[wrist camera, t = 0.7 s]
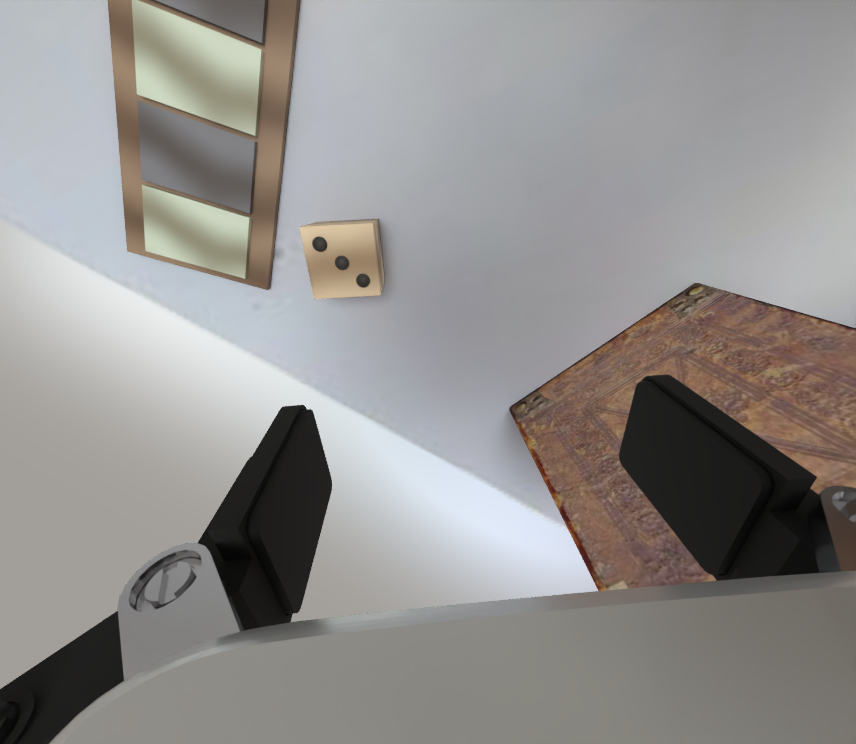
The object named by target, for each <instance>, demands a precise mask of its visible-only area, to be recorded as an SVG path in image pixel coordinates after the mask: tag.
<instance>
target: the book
mask: <svg viewBox="0 0 856 744" xmlns="http://www.w3.org/2000/svg"><path fill="white" fill-rule="evenodd" d="M664 374H667V375H670V376H672V377H674V378H675V379H677V380H678V381H680V382H681V383H682V384H684V385H685V386H687V387H688V388H690V389H691V390H693V391H694V392H695V393H697V394H698V395H700V396H701V397H703V398H704V399H706V400H707V401H708V402H710V403H711V404H713V405H714V406H716V407H717V408H719V409H720V410H721V411H723V412H724V413H726V414H727V415H729V416H730V417H731V418H733V419H734V420H736V421H737V422H739V423H740V424H742V425H743V426H744V427H746V428H747V429H749V430H750V431H752V432H753V433H755V434H756V435H757V436H759V437H760V438H762V439H763V440H765V441H766V442H768V443H769V444H770V445H772V446H773V447H775V448H776V449H778V450H779V451H781V452H782V453H783V454H785V455H786V456H788V457H789V458H791V459H792V460H794V461H795V462H796V463H798V464H799V465H801V466H802V467H804V468H805V469H807V470H808V471H809V472H811V473H812V474H814V475H815V476H817V478H816V480H815V482H814V483H813V485H812V486H811V488H810V489H812V490H813V491H815V492H816V493H817V494H820V492H821V491H822V490H823V489H825V488H826V487H830V486H849V487H854V488H856V328H852V327H849V326H845V325H842V324H838V323H835V322H831V321H828V320H824V319H821V318H817V317H814V316H810V315H807V314H803V313H800V312H796V311H793V310H789V309H786V308H783V307H779V306H776V305H772V304H769V303H765V302H762V301H758V300H755V299H751V298H748V297H744V296H741V295H737V294H734V293H730V292H727V291H723V290H720V289H716V288H713V287H710V286H706V285H703V284H699V283H695V284H693V285H692V286H690V287H689V288H687V289H686V290H684V291H683V292H681V293H680V294H678V295H677V296H675V297H674V298H672V299H671V300H669V301H668V302H666V303H665V304H663V305H662V306H660V307H659V308H657V309H656V310H654V311H653V312H651V313H650V314H648V315H647V316H645V317H644V318H642V319H641V320H639V321H638V322H636V323H635V324H633V325H632V326H630V327H629V328H627V329H626V330H624V331H623V332H621V333H620V334H618V335H617V336H615V337H614V338H612V339H611V340H609V341H608V342H606V343H605V344H603V345H602V346H600V347H599V348H597V349H596V350H594V351H593V352H591V353H590V354H588V355H587V356H585V357H584V358H582V359H581V360H579V361H578V362H576V363H575V364H573V365H572V366H570V367H569V368H567V369H566V370H564V371H563V372H561V373H560V374H558V375H557V376H555V377H554V378H553V379H551V380H550V381H548V382H547V383H545V384H544V385H542V386H541V387H539V388H538V389H536V390H535V391H533V392H532V393H530V394H529V395H527V396H526V397H524V398H523V399H521V400H520V401H518V402H517V403H515V404H514V405H512V406H511V407H510V409H509V410H510V412H511V414H512V416H513V418H514V420H515V422H516V424H517V426H518V428H519V430H520V432H521V435H522V437H523V439H524V441H525V443H526V445H527V447H528V449H529V451H530V453H531V455H532V457H533V459H534V461H535V463H536V465H537V467H538V469H539V471H540V473H541V475H542V477H543V479H544V481H545V483H546V485H547V487H548V489H549V491H550V493H551V495H552V497H553V499H554V501H555V503H556V505H557V507H558V510H559V512H560V514H561V516H562V518H563V520H564V522H565V524H566V526H567V528H568V530H569V532H570V534H571V536H572V538H573V540H574V542H575V544H576V546H577V548H578V550H579V552H580V554H581V556H582V558H583V560H584V562H585V564H586V566H587V568H588V570H589V572H590V574H591V576H592V578H593V580H594V582H595V585H596V587H597V588H598V591H607V590H618V589H629V588H640V587H651V586H663V585H675V584H686V583H698V582H709V581H717V580H716V579H715V577H714V576H713V575H711V574H708V573H707V572H705V571H704V570H703V569H702V567H701V566H700V565H699V564H698V562H697V561H696V560H695V559H694V557H693V556H692V555H691V553H690V552H689V551H688V550H687V548H686V547H685V546H684V544H683V543H682V542H681V541H680V539H679V538H678V537H677V536H676V534H675V533H674V532H673V530H672V529H671V528H670V527H669V525H668V524H667V523H666V521H665V520H664V519H663V518H662V516H661V515H660V514H659V513H658V511H657V510H656V509H655V507H654V506H653V505H652V504H651V502H650V501H649V500H648V498H647V497H646V496H645V495H644V493H643V492H642V491H641V490H640V488H639V487H638V486H637V484H636V483H635V482H634V481H633V479H632V478H631V477H630V476H629V474H628V473H627V472H626V470H625V469H624V468H623V467H622V465H621V463H620V460H619V451H620V447H621V443H622V439H623V435H624V431H625V428H626V424H627V420H628V416H629V412H630V408H631V404H632V400H633V396H634V392H635V388H636V385H637V384H638V382H641V381H642V379H643V378H644V377H646V376H653V375H664Z"/></svg>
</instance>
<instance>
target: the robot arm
mask: <svg viewBox="0 0 856 744" xmlns="http://www.w3.org/2000/svg"><path fill="white" fill-rule="evenodd" d="M619 460H620V463H621V465H622V467H623V468H624V469H625V470H626V472H627V473H628V474H629V476H630V477H631V478H632V479H633V481H634V482H635V483H636V484H637V486H638V487H639V488H640V490H641V491H642V492H643V493H644V495H645V496H646V497H647V498H648V500H649V501H650V502H651V504H652V505H653V506H654V507H655V509H656V510H657V511H658V513H659V514H660V515H661V516H662V518H663V519H664V520H665V521H666V523H667V524H668V525H669V527H670V528H671V529H672V530H673V532H674V533H675V534H676V536H677V537H678V538H679V539H680V541H681V542H682V543H683V544H684V546H685V547H686V548H687V550H688V551H689V552H690V553H691V555H692V556H693V557H694V559H695V560H696V561H697V562H698V564H699V565H700V566H701V567H702V569H703V570H704V571H705V572H707V573H708V574H711V575H713V576H714V577H715V579H716V580H717V581H709V582H698V583H686V584H675V585H663V586H651V587H640V588H629V589H618V590H607V591H596V592H586V593H574V594H563V595H552V596H542V597H531V598H520V599H509V600H499V601H488V602H478V603H468V604H457V605H447V606H437V607H426V608H417V609H406V610H396V611H385V612H375V613H366V614H358V615H349V616H341V617H332V618H324V619H315V620H306V621H297V622H290V621H291V617H292V614H293V613H298V612H299V610H300V608H301V605H302V601H303V598H304V594H305V590H306V586H307V582H308V578H309V575H310V571H311V567H312V563H313V559H314V555H315V552H316V548H317V544H318V540H319V537H320V533H321V529H322V525H323V521H324V517H325V514H326V510H327V506H328V502H329V498H330V494H331V490H332V480H331V475H330V472H329V468H328V465H327V461H326V457H325V454H324V450H323V446H322V443H321V439H320V435H319V432H318V428H317V424H316V421H315V417H314V414H313V411H312V410H307V409H306V407H305V406H304V405H297V406H285V407H282V408H281V409H280V411H279V412H278V414H277V416H276V418H275V419H274V421H273V422H272V424H271V426H270V428H269V429H268V431H267V433H266V434H265V436H264V438H263V439H262V441H261V443H260V444H259V446H258V448H257V449H256V451H255V453H254V454H253V456H252V457H250V459H249V460H248V461H247V462H246V464H245V466H244V468H243V469H242V471H241V473H240V474H239V476H238V477H237V479H236V481H235V482H234V484H233V486H232V487H231V489H230V491H229V492H228V494H227V495H226V497H225V499H224V501H223V502H222V504H221V506H220V507H219V509H218V510H217V512H216V514H215V515H214V517H213V519H212V520H211V522H210V524H209V525H208V527H207V529H206V530H205V532H204V533H203V535H202V537H201V538H200V540H199V542H198V543H186V544H182V545H178V546H175V547H172V548H170V549H168V550H166V551H164V552H162V553H160V554H158V555H157V556H155V557H154V558H152V559H151V560H149V561H148V562H147V563H146V564H144V565H143V566H142V567H141V568H140V569H139V570H138V571H137V572H136V573H135V574H134V575H133V576H132V578H131V579H130V580H129V581H128V583H127V584H126V585H125V587H124V589H123V591H122V593H121V595H120V597H119V603H118V611H117V612H115V613H114V614H112V615H111V616H109V617H108V618H106V619H105V620H103V621H102V622H100V623H99V624H97V625H96V626H94V627H93V628H91V629H90V630H88V631H87V632H85V633H84V634H82V635H81V636H79V637H78V638H76V639H75V640H74V641H72V642H70V643H69V644H67V645H66V646H64V647H63V648H61V649H60V650H58V651H57V652H55V653H54V654H52V655H51V656H49V657H48V658H46V659H45V660H43V661H42V662H40V663H39V664H38V665H36V666H34V667H33V668H31V669H30V670H28V671H27V672H25V673H24V674H22V675H21V676H19V677H18V678H16V679H15V680H13V681H12V682H10V683H9V684H7V685H6V686H4V687H3V688H1V689H0V744H856V488H854V487H849V486H830V487H826V488H825V489H823V490H822V491H821V492H820V494H817V493H816V492H815V491H813V490H812V489H810V488H811V486H812V485H813V483H814V482H815V480H816V478H817V476H815V475H814V474H812V473H811V472H809V471H808V470H807V469H805V468H804V467H802V466H801V465H799V464H798V463H796V462H795V461H794V460H792V459H791V458H789V457H788V456H786V455H785V454H783V453H782V452H781V451H779V450H778V449H776V448H775V447H773V446H772V445H770V444H769V443H768V442H766V441H765V440H763V439H762V438H760V437H759V436H757V435H756V434H755V433H753V432H752V431H750V430H749V429H747V428H746V427H744V426H743V425H742V424H740V423H739V422H737V421H736V420H734V419H733V418H731V417H730V416H729V415H727V414H726V413H724V412H723V411H721V410H720V409H719V408H717V407H716V406H714V405H713V404H711V403H710V402H708V401H707V400H706V399H704V398H703V397H701V396H700V395H698V394H697V393H695V392H694V391H693V390H691V389H690V388H688V387H687V386H685V385H684V384H682V383H681V382H680V381H678V380H677V379H675V378H674V377H672V376H670V375H667V374H664V375H653V376H646V377H644V378H643V379H642V381H641V382H638V384H637V385H636V388H635V392H634V396H633V400H632V404H631V408H630V412H629V416H628V420H627V424H626V428H625V431H624V435H623V439H622V443H621V447H620V451H619Z"/></svg>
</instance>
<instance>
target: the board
mask: <svg viewBox="0 0 856 744" xmlns="http://www.w3.org/2000/svg"><path fill="white" fill-rule="evenodd" d="M299 8H300V0H108V10H109V23H110V35H111V48H112V61H113V74H114V87H115V100H116V113H117V126H118V139H119V152H120V164H121V177H122V190H123V203H124V216H125V229H126V242H127V251H128V252H132V253H136V254H139V255H143V256H147V257H150V258H154V259H157V260H161V261H165V262H168V263H172V264H176V265H179V266H183V267H186V268H190V269H194V270H197V271H201V272H205V273H208V274H212V275H215V276H219V277H223V278H226V279H230V280H234V281H237V282H241V283H244V284H248V285H252V286H255V287H259V288H263V289H266V290H268V289H269V288H270V284H271V275H272V265H273V256H274V246H275V237H276V227H277V218H278V208H279V199H280V189H281V180H282V170H283V160H284V151H285V141H286V132H287V122H288V113H289V103H290V94H291V84H292V75H293V65H294V56H295V46H296V37H297V27H298V18H299Z"/></svg>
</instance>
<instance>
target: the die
mask: <svg viewBox="0 0 856 744" xmlns="http://www.w3.org/2000/svg"><path fill="white" fill-rule="evenodd" d="M300 232H301V237H302V242H303V246H304V251H305V256H306V261H307V266H308V271H309V276H310V281H311V286H312V291H313V296H314V299H324V298H341V297H359V296H376V295H381V293H382V289H383V285H384V282H385V278H384V268H383V258H382V249H381V239H380V229H379V219H367V220H348V221H329V222H316V223H312V224H309V225H305V226H301V227H300Z"/></svg>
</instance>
